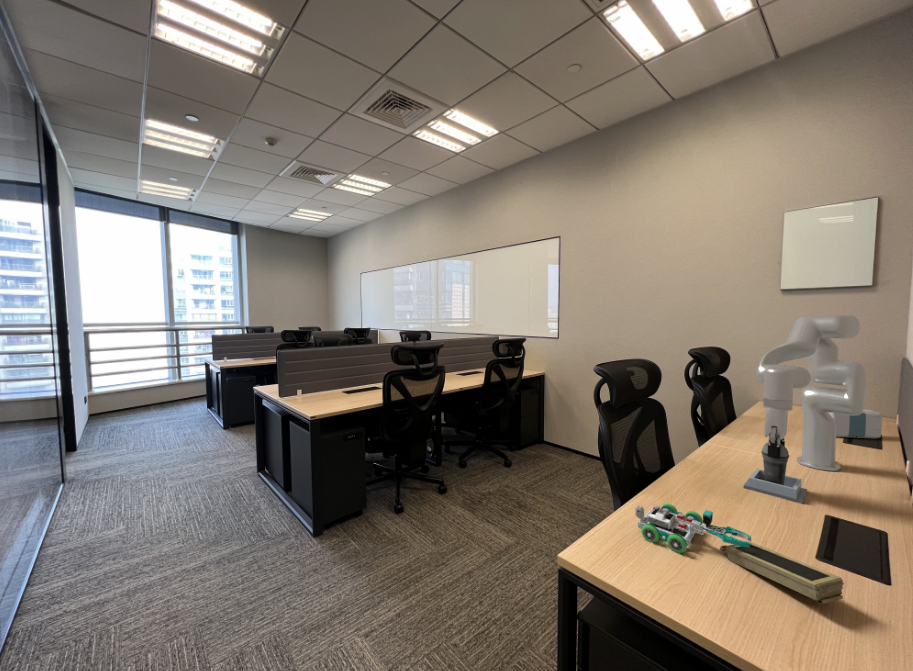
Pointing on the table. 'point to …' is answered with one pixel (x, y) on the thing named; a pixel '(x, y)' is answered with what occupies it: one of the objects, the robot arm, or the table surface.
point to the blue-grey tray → (777, 487)
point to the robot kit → (683, 527)
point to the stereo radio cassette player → (858, 424)
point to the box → (788, 572)
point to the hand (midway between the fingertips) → (776, 454)
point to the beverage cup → (775, 465)
